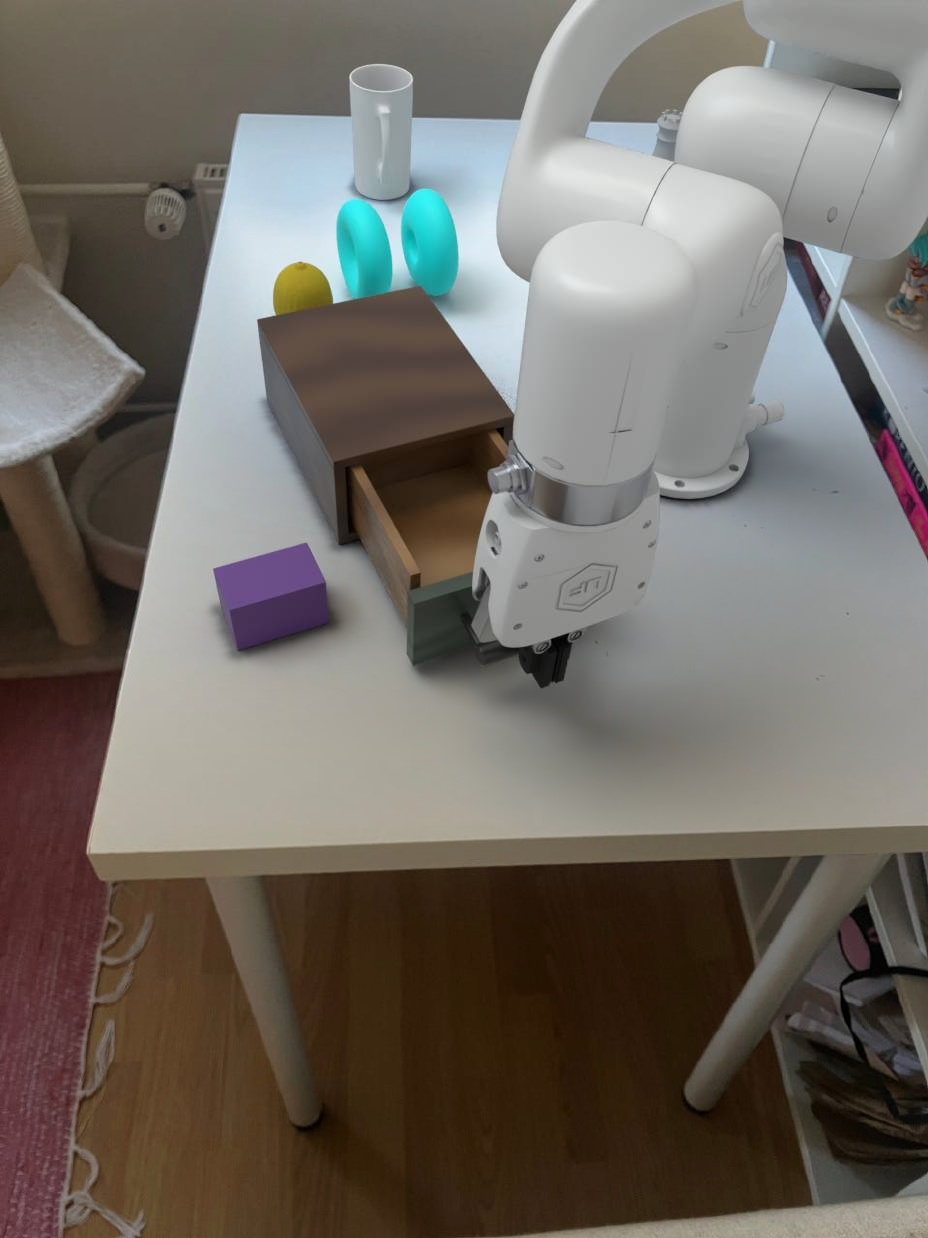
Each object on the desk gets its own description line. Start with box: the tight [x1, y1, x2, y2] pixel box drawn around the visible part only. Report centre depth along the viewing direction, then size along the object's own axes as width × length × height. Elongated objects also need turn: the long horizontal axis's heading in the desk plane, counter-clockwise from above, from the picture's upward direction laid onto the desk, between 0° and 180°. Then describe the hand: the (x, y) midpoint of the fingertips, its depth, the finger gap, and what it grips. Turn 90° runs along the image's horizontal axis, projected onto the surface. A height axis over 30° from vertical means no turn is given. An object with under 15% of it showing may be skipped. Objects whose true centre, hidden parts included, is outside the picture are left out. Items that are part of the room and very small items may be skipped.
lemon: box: [272, 261, 334, 315], centre depth 93 cm, size 6×6×8 cm
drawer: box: [345, 429, 519, 667], centre depth 74 cm, size 22×14×7 cm, turn 24°
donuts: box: [335, 188, 460, 299], centre depth 98 cm, size 10×10×10 cm
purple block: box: [212, 542, 330, 651], centre depth 73 cm, size 7×4×5 cm, turn 114°
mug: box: [348, 63, 414, 201], centre depth 110 cm, size 10×7×12 cm, turn 7°
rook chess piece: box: [651, 109, 683, 162], centre depth 116 cm, size 4×4×8 cm
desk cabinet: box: [256, 285, 515, 545], centre depth 84 cm, size 19×15×9 cm
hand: (541, 668), depth 67 cm, fingers closed
